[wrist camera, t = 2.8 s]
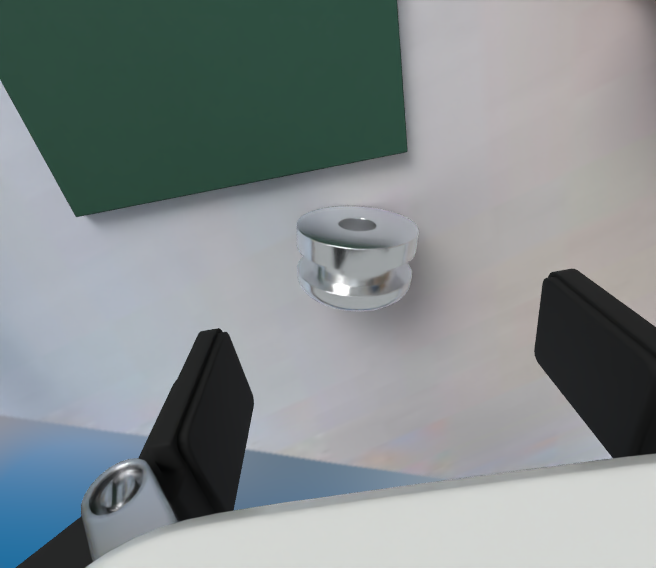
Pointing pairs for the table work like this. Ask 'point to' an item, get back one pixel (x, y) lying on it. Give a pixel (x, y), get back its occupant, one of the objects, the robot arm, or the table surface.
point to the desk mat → (200, 91)
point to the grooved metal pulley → (355, 256)
